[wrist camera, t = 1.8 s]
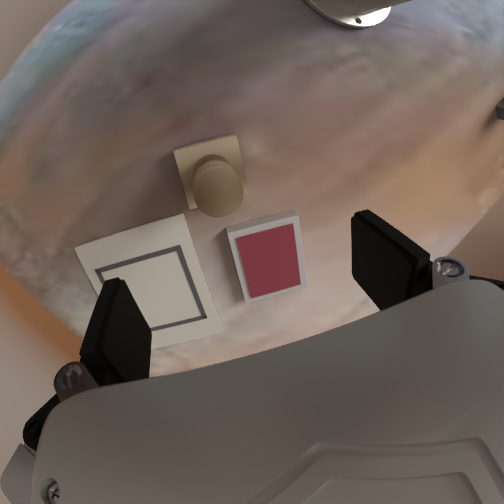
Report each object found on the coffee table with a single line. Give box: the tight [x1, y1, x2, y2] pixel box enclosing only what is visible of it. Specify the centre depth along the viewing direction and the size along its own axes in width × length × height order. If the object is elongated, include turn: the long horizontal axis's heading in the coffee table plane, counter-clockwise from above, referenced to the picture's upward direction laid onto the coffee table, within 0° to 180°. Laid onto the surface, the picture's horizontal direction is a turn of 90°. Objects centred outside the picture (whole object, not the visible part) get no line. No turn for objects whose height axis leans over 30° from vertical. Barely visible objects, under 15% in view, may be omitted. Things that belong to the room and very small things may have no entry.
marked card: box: [74, 213, 224, 349], centre depth 34 cm, size 18×14×1 cm
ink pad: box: [226, 210, 307, 304], centre depth 34 cm, size 10×8×2 cm
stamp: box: [173, 134, 249, 217], centre depth 24 cm, size 6×6×10 cm
